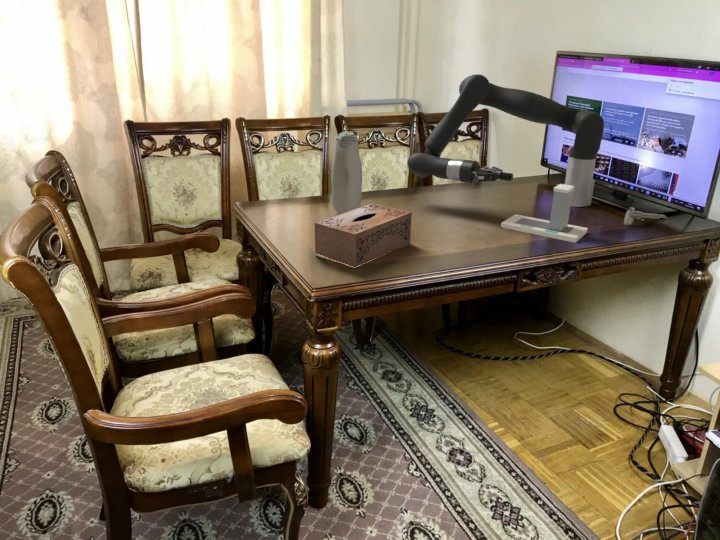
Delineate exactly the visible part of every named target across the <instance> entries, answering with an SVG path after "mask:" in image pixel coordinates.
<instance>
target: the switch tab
mask: <svg viewBox="0 0 720 540" xmlns="http://www.w3.org/2000/svg"><path fill="white" fill-rule="evenodd" d="M574 187H575V186H571V185H565V183H559V184H558V185H556V186H554V187H553V198H552V201H551V202H552V204H551V211H550V218H549V221H550V223H549V229H554V230H559V231H562V230H563V229H565V228H566V227H567V226H568V224H569V219H570V213H571V207H572V206H571V201H572V194H573V190H574Z"/></svg>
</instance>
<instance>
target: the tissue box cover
mask: <svg viewBox="0 0 720 540" xmlns="http://www.w3.org/2000/svg"><path fill="white" fill-rule="evenodd" d="M411 232H412V211H408V210H404V209H399V208H395V207H390V206H387V205H382V204H378V203H373V202H372V203H369V204H366V205H363V206H360V208H357V209H354V210H351V211H348V212H345V213H342V214H337V215H334V216H330V217H328V218H325V219H322V220H319V221H316V222H314V254H315V253H317V254H320V255H323V256H325V257H328V258H330V259H333V260H336V261H339V262H342V263H345V264H348V265H350V266H353V267H356V266H358V265H361V264H363V263H366V262H368V261H370V260H373V259H375V258H377V257H380V256H382V255H384V254H387V253H389V252H391V251H393V250H395V251H397V250H396V249H398V248H400V247H402V248H404V247H406V246H405V245H407V244H409V243H410V244H411V236H412V235H411V234H412V233H411ZM410 244H409V245H410ZM403 246H404V247H403ZM407 246H408V245H407ZM400 249H401V248H400ZM398 250H399V249H398ZM393 252H394V251H393ZM391 253H392V252H391ZM389 254H390V253H389ZM387 255H388V254H387ZM384 256H385V255H384ZM382 257H383V256H382ZM380 258H381V257H380ZM373 261H374V260H373Z"/></svg>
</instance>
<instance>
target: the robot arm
mask: <svg viewBox="0 0 720 540" xmlns="http://www.w3.org/2000/svg"><path fill="white" fill-rule="evenodd" d="M458 92H459V96H458V98H457V99H456V101H455V103H454V104H453V106H452V107H451V108H450V109H449V111H448V112H447V113H446V114H445V115H444V116H443V117H442V118H441V120H440V121H439V122H438V123H437V124H436V126H435V127H434V128H433V129H432V131H431V132H430V133H429V136H428V137H427V138H426V140H425V142H424V147H425V151H424V153H423V152H414V153H413V154H411V155H410V156H409V157H408V158H407V168H408V170H410V172H412V173H413V174H415V175H416V176H418V177H419V178H422V179H423V178H427V177H428V176H430V175H431V176H434V177H436V178H438V179H443V180H448V181H449V180H450V181H453V182H460V183H465V184H472V185H474V184H476V183H477V182H496V181H508V182H511V181H513V179H514V174H513V173H511V172H504V170H503V169H501V168H499V167H496V166H491V167H489V166H482V167H481V165H480V162H479V161H477V160H472V159H462V158H447V157H441V155H442V153H443V152H444V151H445V149H446V148H447V146H448V145H449V143H450V142H451V140H453V137H454V136H455V135H456V133H457V132H458V131H459V129H460V127H461V126H462V125H463V123H464V121H465V120H467V118H468V117H469V116H470V115H471V113H472V112H473V111H475V109H476V108H477V107H478V106H479V105H482V106H487V107H490V108H494V109H496V110H499V111H501V112H503V113H506V114H509V115H511V116H514V117H516V118H518V119H523V120H525V121H529V122H532V123H535V124H536V123H537V124H542V125H552V126H556V127H559V128H562V129H564V130H566V131H568V132H571V133H573V134H574V135H575V137H574V143H573V146H572V147H571V148H569V153H568V160H567V165H566V173H565V180H564V184H565V185H571V186H575V187H574V190H573V194H572V201H571V207H576V208H582V207H583V208H585V207H588V206H589V207H590V206H591V204H592V198H593V194H594V193H593V192H594V186H595V179H593V178H594V172H595V167H596V160H597V156H598V155H597V154H598V153H599V151H600V149H601V145H602V144H601V143H602V139H603V136H604V135H603V134H604V130H605V121H604V118H603V117H602V116H601V115H600V114H599V113H597V112H595V111H592V110H589V109H582V108H578V107H577V108H576V107H572V106H567V105H564V104H561V103H559V102H558V101H555V100H553V99H551V98H549V97H547V96H544V95H541V94H538V93H535V92H532V91H529V90H523V89H516V88H509V87H503V86H499V85H496V84H494V83H492V82H490V81H489V79H488V78H487V77H486V76H484V75H483V74H478V73H477V74H471V75H468V76H467V77H465V78H463V80H462V81H461V82H460V84H459V88H458Z"/></svg>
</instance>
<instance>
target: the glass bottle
mask: <svg viewBox="0 0 720 540" xmlns="http://www.w3.org/2000/svg"><path fill="white" fill-rule="evenodd" d="M334 144H335V145H334V153H333V159H332V163H331V169H330V170H331V171H330V174H331V175H330V176H331V204H332V207H333V209H334V210H335V212H336V213H337V215H339V214H342V213H345V212H348V211H351V210H354V209H357V208H360V207H361V204H362V188H363V187H362V186H363V184H362V183H363V166H362V160H361V156H360V155H361V154H360V148H359V138H358V136H357V135H356V133H354V132H352V131H349V130H348V131H347V130H346V131H341V132H340V133H339V134H337V136H336V139H335V143H334Z"/></svg>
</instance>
